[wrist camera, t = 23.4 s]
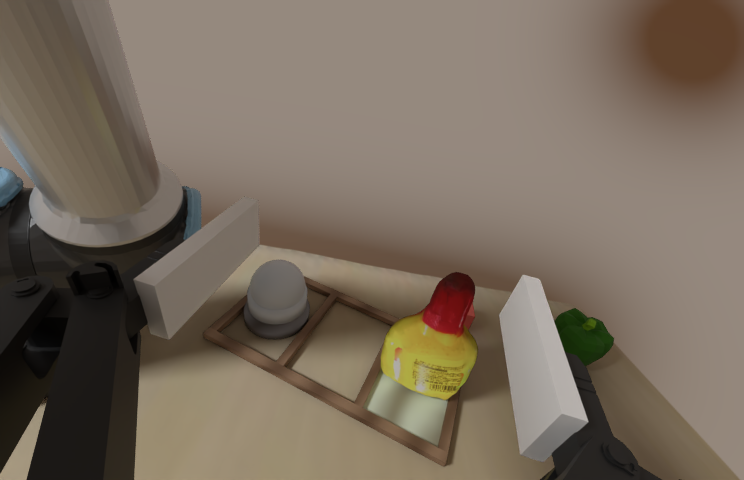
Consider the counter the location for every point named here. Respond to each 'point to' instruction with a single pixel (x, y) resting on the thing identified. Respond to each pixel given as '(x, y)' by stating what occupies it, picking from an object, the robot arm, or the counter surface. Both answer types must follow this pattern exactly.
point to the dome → (277, 293)
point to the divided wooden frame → (379, 392)
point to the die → (469, 317)
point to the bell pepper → (583, 336)
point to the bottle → (434, 342)
